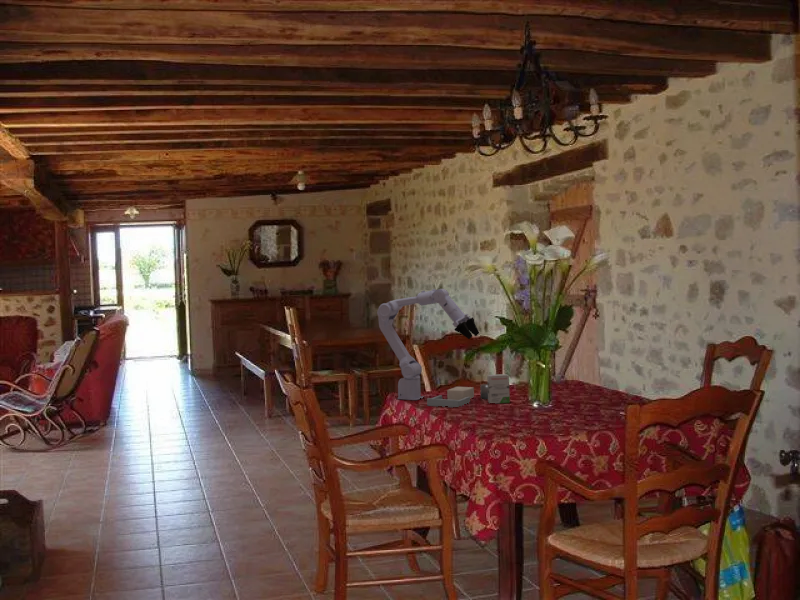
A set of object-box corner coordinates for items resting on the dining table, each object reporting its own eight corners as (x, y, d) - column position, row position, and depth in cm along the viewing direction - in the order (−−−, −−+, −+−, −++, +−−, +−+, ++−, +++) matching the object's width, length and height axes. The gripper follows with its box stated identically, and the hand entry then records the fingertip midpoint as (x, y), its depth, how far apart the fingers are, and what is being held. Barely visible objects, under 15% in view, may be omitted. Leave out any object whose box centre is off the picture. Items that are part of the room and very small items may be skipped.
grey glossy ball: (478, 399, 380) (478, 385, 379) (483, 397, 385) (483, 383, 385) (491, 400, 377) (491, 386, 376) (496, 398, 382) (496, 384, 382)
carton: (447, 401, 378) (447, 390, 378) (457, 397, 387) (457, 386, 386) (464, 402, 374) (464, 391, 374) (474, 398, 383) (473, 387, 382)
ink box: (507, 401, 374) (507, 373, 373) (510, 403, 369) (509, 375, 368) (487, 401, 373) (487, 374, 372) (489, 403, 368) (489, 375, 367)
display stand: (427, 405, 367) (427, 398, 367) (440, 400, 378) (440, 393, 378) (457, 407, 361) (457, 400, 361) (470, 402, 372) (469, 395, 372)
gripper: (453, 308, 368) (474, 333, 366) (466, 303, 381) (486, 327, 378) (442, 319, 371) (462, 343, 369) (455, 313, 384) (475, 337, 381)
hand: (474, 336), depth 374 cm, fingers open, 7 cm apart
